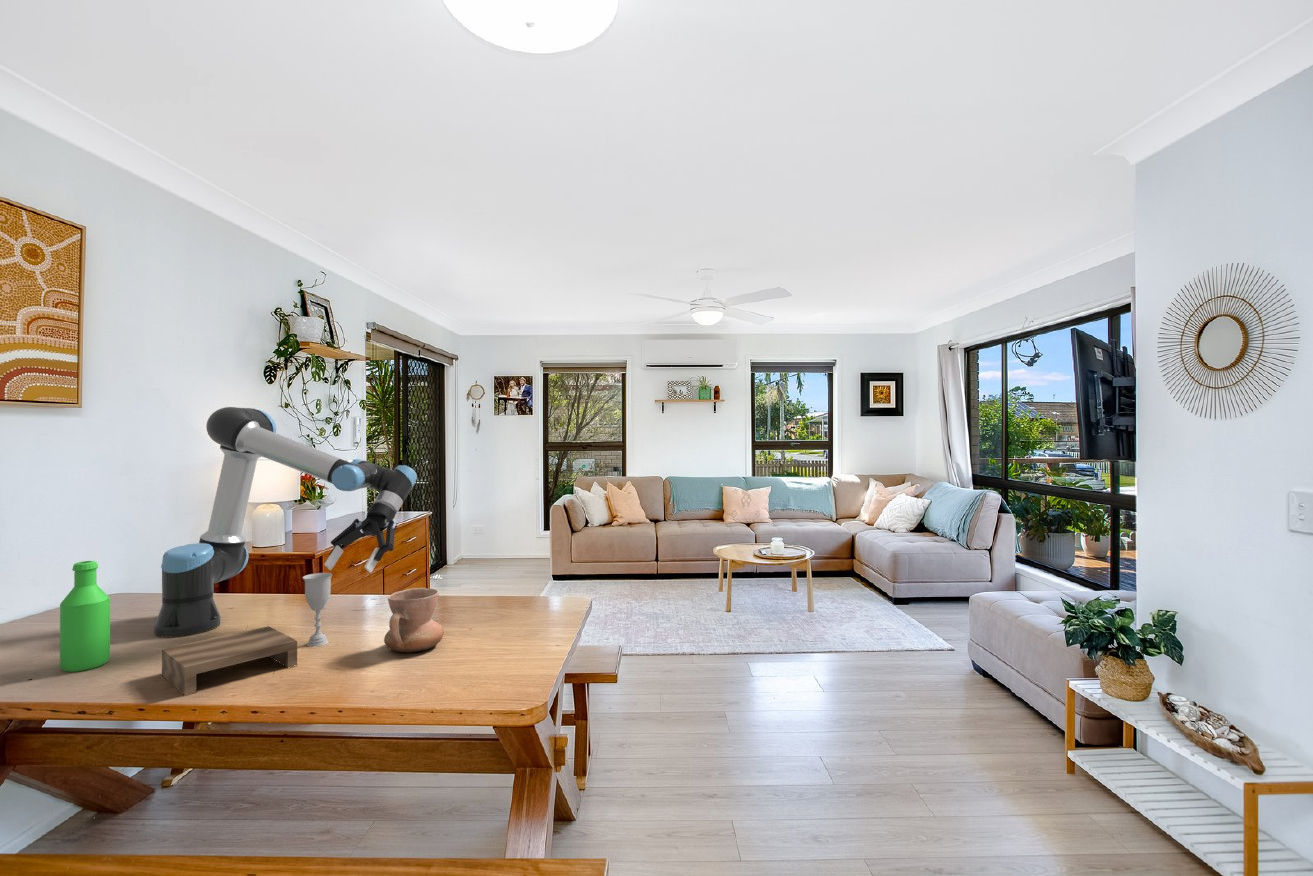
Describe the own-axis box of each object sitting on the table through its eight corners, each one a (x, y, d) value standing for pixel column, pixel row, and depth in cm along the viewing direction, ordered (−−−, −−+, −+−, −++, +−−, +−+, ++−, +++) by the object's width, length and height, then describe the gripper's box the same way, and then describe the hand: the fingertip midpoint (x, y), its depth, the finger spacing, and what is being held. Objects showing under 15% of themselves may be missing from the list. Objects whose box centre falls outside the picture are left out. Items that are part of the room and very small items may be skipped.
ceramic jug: (410, 635, 170) (409, 584, 170) (457, 638, 167) (456, 586, 166) (365, 659, 153) (364, 602, 152) (416, 663, 149) (415, 605, 149)
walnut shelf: (161, 675, 141) (161, 649, 141) (268, 649, 158) (268, 626, 158) (184, 695, 130) (184, 667, 130) (297, 665, 147) (297, 640, 147)
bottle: (66, 676, 141) (66, 567, 141) (54, 668, 145) (54, 563, 145) (116, 664, 148) (115, 560, 148) (102, 657, 153) (102, 557, 153)
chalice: (318, 649, 159) (318, 579, 159) (296, 647, 160) (296, 578, 160) (338, 639, 166) (338, 573, 166) (317, 638, 167) (317, 572, 167)
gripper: (425, 518, 186) (391, 578, 172) (356, 515, 193) (318, 573, 178) (413, 502, 181) (377, 563, 167) (344, 500, 188) (303, 558, 173)
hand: (347, 568), depth 172 cm, fingers open, 13 cm apart
